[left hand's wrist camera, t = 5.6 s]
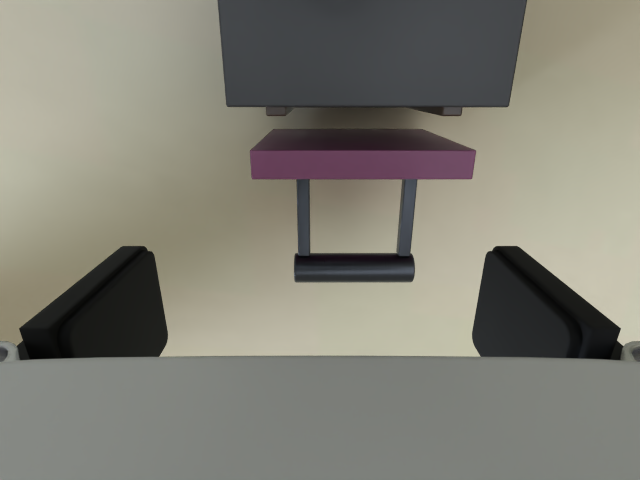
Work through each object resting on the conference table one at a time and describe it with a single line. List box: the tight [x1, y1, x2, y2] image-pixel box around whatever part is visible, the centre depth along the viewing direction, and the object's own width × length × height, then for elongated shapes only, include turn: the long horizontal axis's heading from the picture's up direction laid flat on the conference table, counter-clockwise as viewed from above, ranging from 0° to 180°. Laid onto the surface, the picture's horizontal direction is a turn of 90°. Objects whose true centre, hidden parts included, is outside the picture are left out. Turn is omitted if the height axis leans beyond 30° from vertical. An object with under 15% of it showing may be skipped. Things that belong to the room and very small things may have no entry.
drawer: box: [250, 107, 476, 282], centre depth 19 cm, size 20×9×9 cm, turn 0°
